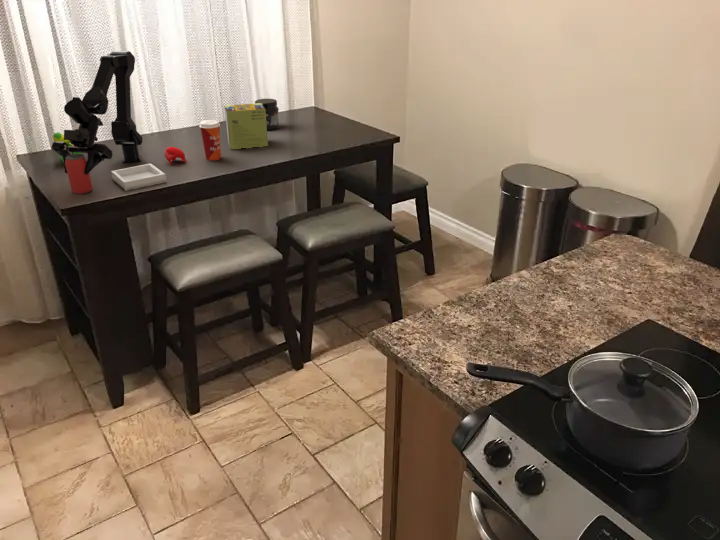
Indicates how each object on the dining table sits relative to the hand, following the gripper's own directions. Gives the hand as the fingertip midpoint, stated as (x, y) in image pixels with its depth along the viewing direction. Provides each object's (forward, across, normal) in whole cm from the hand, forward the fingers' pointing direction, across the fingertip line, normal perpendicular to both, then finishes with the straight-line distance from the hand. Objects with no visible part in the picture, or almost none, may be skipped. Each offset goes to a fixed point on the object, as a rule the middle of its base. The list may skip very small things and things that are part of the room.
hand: (75, 173), depth 198 cm
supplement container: (-57, +38, +67) cm, 95 cm away
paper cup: (-25, +30, +35) cm, 52 cm away
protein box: (-38, +37, +48) cm, 72 cm away
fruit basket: (-16, -22, +26) cm, 37 cm away
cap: (-20, +18, +30) cm, 40 cm away
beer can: (+4, 0, +6) cm, 7 cm away
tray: (-5, +14, +14) cm, 21 cm away
